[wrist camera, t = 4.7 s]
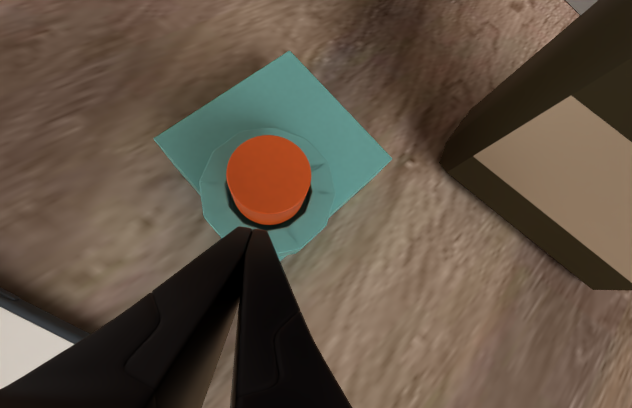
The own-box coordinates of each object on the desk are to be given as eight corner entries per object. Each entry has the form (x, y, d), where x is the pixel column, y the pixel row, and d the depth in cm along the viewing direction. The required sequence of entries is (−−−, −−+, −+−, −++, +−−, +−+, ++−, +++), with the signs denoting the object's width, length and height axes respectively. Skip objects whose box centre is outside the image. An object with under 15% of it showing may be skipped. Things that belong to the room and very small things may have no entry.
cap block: (262, 284, 20) (261, 284, 14) (165, 170, 20) (126, 127, 15) (374, 183, 23) (411, 149, 17) (285, 88, 23) (291, 24, 18)
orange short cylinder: (265, 240, 15) (264, 231, 12) (217, 186, 15) (207, 167, 13) (318, 194, 16) (328, 178, 13) (273, 144, 16) (274, 119, 14)
